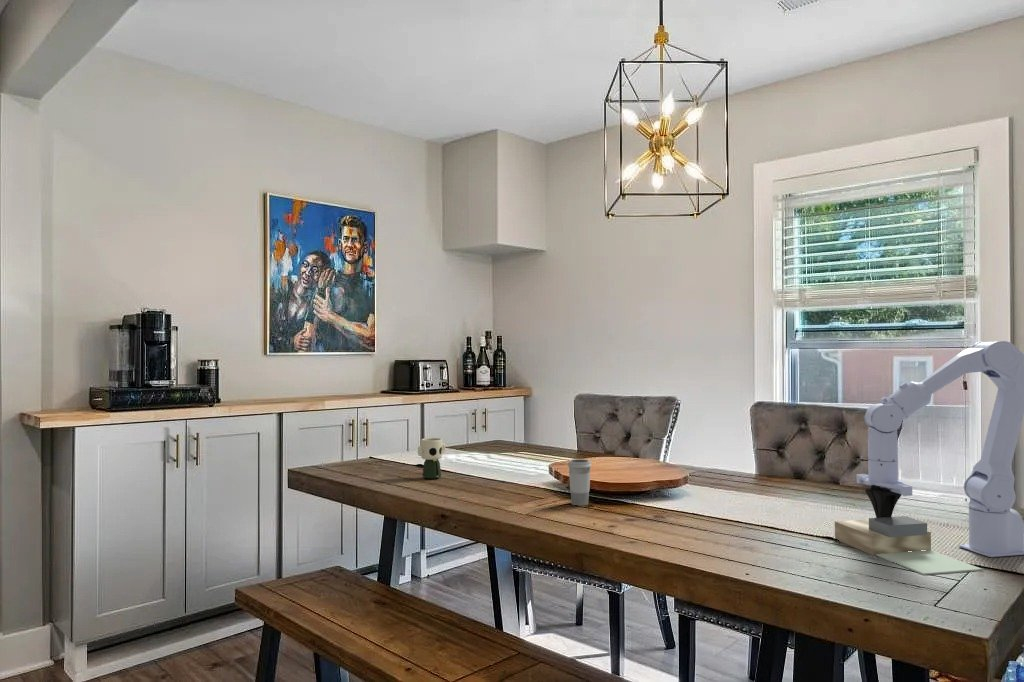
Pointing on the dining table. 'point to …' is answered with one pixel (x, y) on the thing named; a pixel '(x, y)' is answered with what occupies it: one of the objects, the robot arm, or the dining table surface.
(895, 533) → the slate tile
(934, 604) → the dining table surface
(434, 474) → the character mug
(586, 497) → the cup
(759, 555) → the dining table surface
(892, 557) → the mat
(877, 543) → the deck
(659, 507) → the dining table surface
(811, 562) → the dining table surface
